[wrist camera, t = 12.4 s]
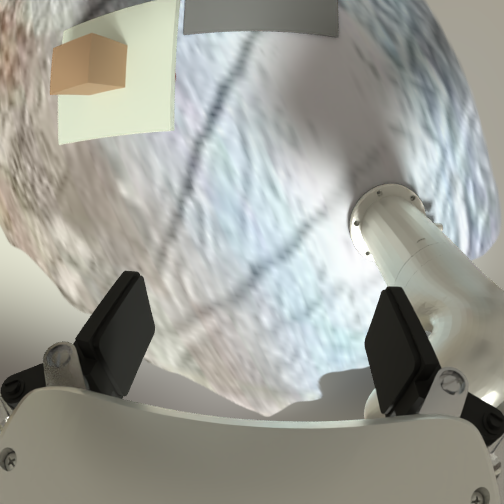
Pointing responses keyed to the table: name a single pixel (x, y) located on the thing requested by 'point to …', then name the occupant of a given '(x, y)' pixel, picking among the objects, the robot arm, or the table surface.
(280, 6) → the mat
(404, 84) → the table surface
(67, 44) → the lid
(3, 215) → the table surface
